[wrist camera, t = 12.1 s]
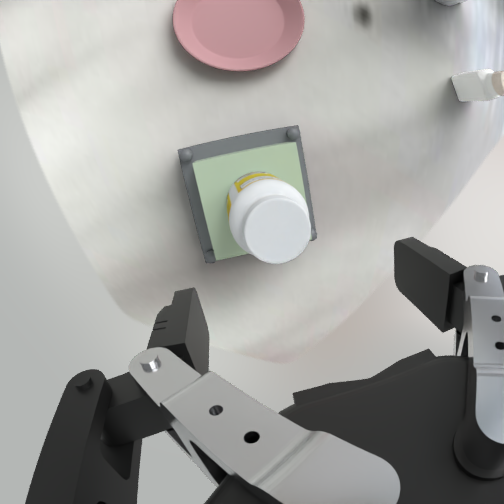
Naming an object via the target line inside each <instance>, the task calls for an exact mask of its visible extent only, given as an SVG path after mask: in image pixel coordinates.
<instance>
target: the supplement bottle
mask: <svg viewBox="0 0 504 504" xmlns="http://www.w3.org/2000/svg"><path fill="white" fill-rule="evenodd" d="M226 207H227V214H228V220H229V226H230V230H231V233H232V235H233V237H234V239H235V241H236V242H237V244H238V245H239V246H240V247H241V248H242V249H243V250H245V251H246V252H248V253H249V254H252V255H254V256H255V257H256V258H257V259H259V260H261V261H263V262H266V263H270V264H281V263H286V262H289V261H291V260H293V259H295V258H296V257H297V256H299V255H300V254H301V253H302V252H303V251H304V249H305V248H306V246H307V244H308V242H309V239H310V235H311V224H310V220H309V211H308V207H307V204H306V202H305V200H304V198H303V197H302V195H301V194H300V193H299V192H298V191H297V190H296V189H295V188H294V187H293V186H291V185H290V184H288V183H286V182H284V181H283V180H281V179H279V178H277V177H276V176H274V175H272V174H269V173H266V172H260V171H256V172H250V173H247V174H244V175H242V176H241V177H239V178H238V179H237V180H236V181H235V182H234V183H233V184H232V186H231V187H230V189H229V191H228V194H227V200H226Z"/></svg>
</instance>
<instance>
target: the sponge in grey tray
mask: <svg viewBox="0 0 504 504" xmlns="http://www.w3.org/2000/svg"><path fill="white" fill-rule="evenodd" d="M178 154H179V158H180V163H181V167H182V171H183V175H184V179H185V184H186V188H187V192H188V196H189V200H190V204H191V208H192V212H193V216H194V220H195V224H196V228H197V231H198V235H199V239H200V243H201V247H202V250H203V254H204V258H205V262H206V263H214V262H215V261H218V260H222V259H227V258H231V257H236V256H240V255H245V254H249V253H248V252H246V251H245V250H243V249H242V248H241V247H240V246H239V245H238V244H237V242H236V241H235V239H234V237H233V235H232V233H231V230H230V226H229V220H228V214H227V207H226V200H227V194H228V191H229V189H230V187H231V186H232V184H233V183H234V182H235V181H236V180H237V179H238V178H239V177H241V176H242V175H244V174H247V173H250V172H256V171H260V172H266V173H269V174H272V175H274V176H276V177H277V178H279V179H281V180H283V181H284V182H286V183H288V184H290V185H291V186H293V187H294V188H295V189H296V190H297V191H298V192H299V193H300V194H301V195H302V197H303V198H304V200H305V202H306V204H307V207H308V211H309V220H310V224H311V235H310V239H309V241H313V240H315V239H316V238H317V233H316V229H315V222H314V215H313V208H312V202H311V195H310V189H309V183H308V177H307V171H306V165H305V159H304V153H303V148H302V142H301V137H300V131H299V127H298V125H296V126H290V127H284V128H278V129H272V130H266V131H261V132H255V133H250V134H245V135H240V136H235V137H230V138H226V139H221V140H217V141H212V142H208V143H203V144H199V145H195V146H191V147H187V148H183V149H179V150H178Z"/></svg>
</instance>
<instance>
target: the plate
mask: <svg viewBox="0 0 504 504" xmlns="http://www.w3.org/2000/svg"><path fill="white" fill-rule="evenodd" d="M173 27H174V31H175V34H176V37H177V39H178V41H179V42H180V44H181V45H182V47H183V48H184V49H185V50H186V51H187V52H188V53H189V54H190V55H191V56H193V57H194V58H195V59H197V60H199V61H200V62H202V63H204V64H206V65H209V66H211V67H214V68H218V69H222V70H228V71H251V70H256V69H261V68H264V67H267V66H270V65H272V64H274V63H276V62H278V61H279V60H281V59H283V58H284V57H285V56H286V55H288V54H289V53H290V52H291V51H292V50H293V49H294V47H295V46H296V45H297V43H298V41H299V40H300V38H301V35H302V32H303V29H304V11H303V7H302V4H301V2H300V0H177V2H176V4H175V7H174V11H173Z"/></svg>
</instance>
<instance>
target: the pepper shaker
mask: <svg viewBox="0 0 504 504" xmlns="http://www.w3.org/2000/svg"><path fill="white" fill-rule="evenodd" d="M451 78H452V82H453V85H454V88H455V91H456V94H457V97H458V99H459V101H462V102H468V101H489V100H493V99H496V98H498V97H499V96H504V71H498V72H493V71H492V70H491V69H484V70H477V71H470V72H464V73H460V74H456V75H453V76H452V77H451Z"/></svg>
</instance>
